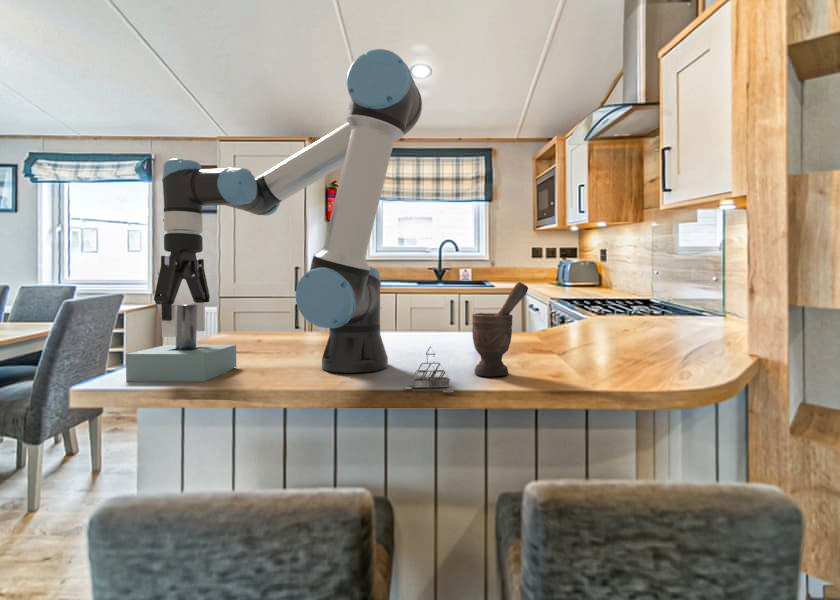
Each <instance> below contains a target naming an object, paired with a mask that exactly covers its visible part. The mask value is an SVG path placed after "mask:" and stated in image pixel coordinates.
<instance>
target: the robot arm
mask: <svg viewBox="0 0 840 600" xmlns="http://www.w3.org/2000/svg"><path fill="white" fill-rule="evenodd" d="M411 73H412V72H411V70H410V68H409V66H408V65H407V63H406V62H405V61H404V60H403V59H402V57H400V56H399V55H398V54H397V53H395V52H393V51H391V50H389V49H383V48H375V49H371V50H368V51H366V52H364V53H363V54H361V55H359V56H358V57H357V58H355V60H353V62H352V64H351V65H350V67H349V69H348V71H347V75H346V87H347V92H348V95H349V96H350V102H349V106H348V111H347V114H346V119H345V120H346V123H344V124H342V125H341V126H339V127H337V128H336V129H335V130H332V131H331V132H329V133H328V134H326V135H325V136H323V137H321V138H320V139H318V140H316V141H315V142H313V143H311V144H310V145H308V146H306V147H304V148H303V149H301V150H300V151H298V152H296V153H294V154H293V155H291V156H289V157H288V158H286V159H285V160H283V161H282V162H279V163H278V164H277V165H275V166H273V167H272V168H270V169H268V170H267V171H265V172H264V173H262V174H260V175H258V176H256V177H255V175H253V173H252V171H251V170H250V169H248V168H244V167H234V166H232V167H231V166H230V167H225V168H210V169H207V168H206V169H202V165H201V164H200V162H197V161H195V160H192V159H186V158H170V159H167V160H166V161H165V162H164V163H163V169H162V170H163V171H162V179H161V180H162V181H161V182H162V191H163V193H162V194H163V217H162V222H163V230H164V232H166V233H165V234H163V250H164V251H165V252H168V253H170V254H163V255H162V254H161V257H160V268H159V273H158V277H157V282H156V287H155V292H154V295H153V301H154V302H155V305H156V306H157V305H158V306H159V305H160V306H161V307H160V308H161V338H168V337H169V338H176V336H177V304H175V300H176V298H177V296H178V294H179V293H178V292H179V290H180V286H181V284H182V281H183V280H184V281H186V284H187V287H188V289H189V292H190V295H191V297H192V300H193V302H191V305H197V332H205V331H206V310H205V309H206V305H205V304H206V303H209V302H210V297H211V296H210V292H209V291H210V290H209V286H208V282H207V276H206V272H205V260H204V258H197V254H198V253H202V252H203V249H204V248H203V247H204V246H203V243H204V242H203V236H202V235H201V234H202V233H203V206H205V207H206V206H226V207H230V208H234V209H236V210H237V209H238V210H241V211H244V212H248V213H251V214H253V215H256V216H271V215H272V214H274V213H276V211H277V210H278V209H279V207H280V204H281V202H283V201H285V200H287V199H288V198H289V197H291V196H292V197H293V195H295V194H297V193H298V192H300V191H302V190H304V189H306V188H307V187H309V186H311V185H313V184H314V183H316V182H318V181H319V180H322V178H324V177H326V176H328V175H330V174H331V173H333V172H335V171H336V170H339V169H340V168H341V169H342V170H341V174H340V176H339V177H340V178H339V181H338V185H337V190H336V193H335V198H334V202H333V207H332V211H331V214H330V219H329V223H328V227H327V232H326V235H325V240H324V243H323V247H322V249H320V250H319V251H317V252H316V253H314V254H313V256H312V260H311V264H310V269H309V271H307V272H306V273H305V274H303V276H302V277H301V278H300V279H299V281H298V283H297V286H296V288H295V302H296V303H295V304H296V306H297V309H298V311H299V312H300V313H301V315H302V317H303V318H304V319H305V320H306V321H307V322H308V323H310V324H311V325H313V326H316V327H318V328H323V329H329V334H328V335H329V336H328V339H327V342H326V345H325V349H324V351H323V354H322V358H321V369H322V370H324V371H327V372H334V373H345V374H346V373H369V372H371V373H372V372H378V371H382V370H385V369H387V368H388V367H389V366H388V365H389V364H388V363H389V361H388V360H389V359H388V358H389V357H388V355H387V350H386V348H385V345H384V343H383V338H382V336H381V286H382V284H381V283H382V281H381V278H380V277H381V276H380V271H379V270H378V269H377V268H375V267H372V266H369V264H368V262H367V259H366V256H367V253H368V252H367V251H368V248H369V243H370V240H371V237H372V232H373V227H374V223H375V221H376V215H377V212H378V207H379V204H380V199H381V195H382V192H383V187H384V183H385V180H386V176H387V171H388V168H389V163H390V160H391V155H392V152H393V147H394V143H396V142H397V141H399V140H400V139H402V138H404V136H405V135H406V134H407V133H409V132H410V131H411V130H412V129H413V128H414V127H415V125H416V124H417V123H418V121H419V119H420V117H421V114H422V110H423V109H422V108H423V100H422V95H421V93H420V91H419V88H418V87H417V85H416V83H415V81H414V79H413V76H412V74H411Z"/></svg>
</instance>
